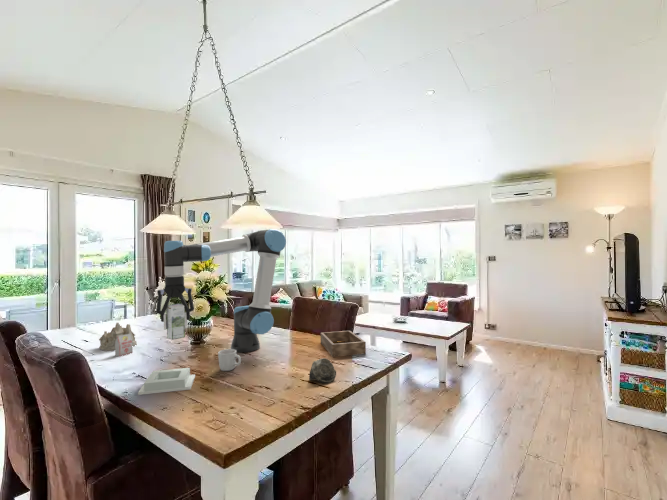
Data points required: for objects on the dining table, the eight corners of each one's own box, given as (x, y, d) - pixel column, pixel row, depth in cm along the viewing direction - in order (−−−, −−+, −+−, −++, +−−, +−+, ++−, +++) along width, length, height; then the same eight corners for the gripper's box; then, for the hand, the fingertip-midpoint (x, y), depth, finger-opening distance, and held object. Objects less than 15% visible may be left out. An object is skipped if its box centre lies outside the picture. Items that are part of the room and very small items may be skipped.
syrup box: (180, 335, 156) (179, 303, 156) (185, 337, 152) (184, 304, 152) (166, 338, 152) (165, 304, 152) (171, 340, 148) (170, 306, 148)
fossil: (326, 385, 134) (315, 360, 136) (309, 392, 138) (299, 368, 141) (341, 375, 143) (330, 352, 145) (325, 382, 147) (315, 360, 150)
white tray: (195, 376, 146) (195, 367, 146) (190, 389, 133) (190, 378, 133) (147, 381, 142) (147, 371, 142) (138, 394, 128) (138, 384, 128)
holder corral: (349, 340, 202) (349, 330, 202) (365, 353, 176) (365, 341, 176) (320, 343, 197) (320, 332, 197) (332, 356, 172) (332, 344, 172)
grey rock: (140, 344, 198) (138, 318, 198) (110, 353, 184) (107, 325, 184) (126, 343, 206) (124, 317, 206) (95, 351, 192) (93, 324, 192)
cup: (245, 368, 157) (245, 350, 157) (235, 373, 149) (235, 355, 149) (225, 365, 160) (225, 348, 160) (214, 371, 153) (214, 353, 153)
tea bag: (115, 355, 178) (115, 336, 178) (128, 352, 184) (128, 333, 184) (119, 356, 177) (119, 336, 177) (132, 353, 183) (132, 333, 183)
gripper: (200, 274, 158) (201, 324, 158) (150, 276, 153) (152, 328, 153) (198, 275, 151) (199, 328, 151) (146, 277, 146) (147, 332, 146)
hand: (175, 328), depth 152 cm, fingers closed on syrup box, 8 cm apart
